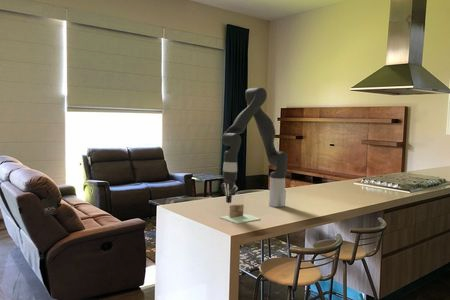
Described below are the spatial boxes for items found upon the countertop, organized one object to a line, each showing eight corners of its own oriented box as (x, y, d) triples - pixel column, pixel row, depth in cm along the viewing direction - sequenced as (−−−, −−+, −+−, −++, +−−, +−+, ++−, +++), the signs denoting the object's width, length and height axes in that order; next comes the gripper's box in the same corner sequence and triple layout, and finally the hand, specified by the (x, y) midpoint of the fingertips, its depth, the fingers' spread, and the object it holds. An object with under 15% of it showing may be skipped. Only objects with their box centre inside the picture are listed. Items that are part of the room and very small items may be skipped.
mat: (243, 214, 208) (243, 213, 208) (260, 219, 197) (260, 218, 197) (219, 217, 198) (219, 216, 198) (236, 224, 187) (236, 222, 187)
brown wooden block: (241, 215, 203) (241, 204, 202) (243, 215, 202) (243, 204, 201) (229, 217, 198) (229, 205, 198) (231, 217, 197) (231, 206, 196)
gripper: (243, 171, 200) (242, 204, 201) (227, 168, 211) (226, 199, 212) (232, 172, 196) (230, 205, 197) (216, 169, 206) (215, 201, 207)
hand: (228, 202), depth 204 cm, fingers closed
